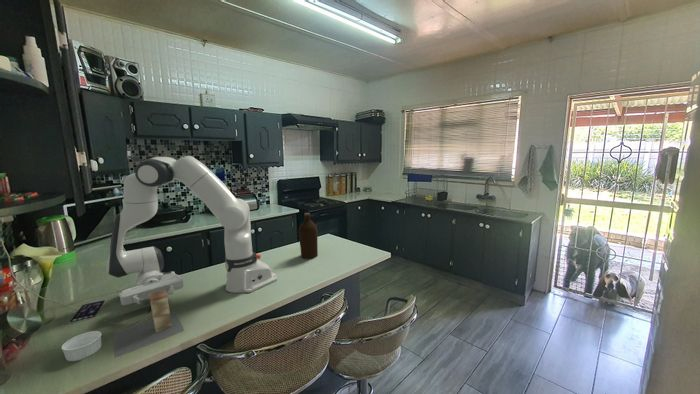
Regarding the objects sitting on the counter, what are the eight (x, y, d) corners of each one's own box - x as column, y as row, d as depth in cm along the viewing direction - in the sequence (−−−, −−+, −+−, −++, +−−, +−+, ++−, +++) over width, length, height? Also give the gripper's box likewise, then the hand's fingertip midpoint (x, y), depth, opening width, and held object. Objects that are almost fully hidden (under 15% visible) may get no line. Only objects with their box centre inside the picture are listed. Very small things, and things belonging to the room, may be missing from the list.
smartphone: (67, 323, 101) (82, 304, 114) (67, 324, 101) (82, 305, 114) (94, 317, 104) (106, 299, 117) (95, 318, 104) (106, 300, 117)
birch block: (169, 321, 100) (164, 289, 98) (171, 326, 96) (167, 294, 95) (154, 326, 97) (149, 294, 95) (156, 332, 93) (150, 299, 92)
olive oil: (317, 259, 155) (315, 215, 151) (298, 259, 155) (295, 215, 151) (319, 252, 165) (317, 211, 161) (302, 252, 166) (299, 211, 162)
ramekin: (69, 349, 87) (67, 337, 86) (106, 339, 92) (104, 327, 91) (59, 367, 80) (56, 354, 79) (99, 355, 84) (97, 342, 83)
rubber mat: (175, 312, 106) (175, 311, 106) (184, 331, 94) (184, 330, 94) (113, 333, 94) (113, 332, 94) (115, 358, 82) (115, 357, 82)
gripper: (117, 286, 107) (118, 299, 97) (178, 270, 120) (185, 280, 110) (119, 301, 108) (121, 316, 98) (180, 283, 121) (187, 295, 111)
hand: (155, 296), depth 104 cm, fingers open, 8 cm apart
